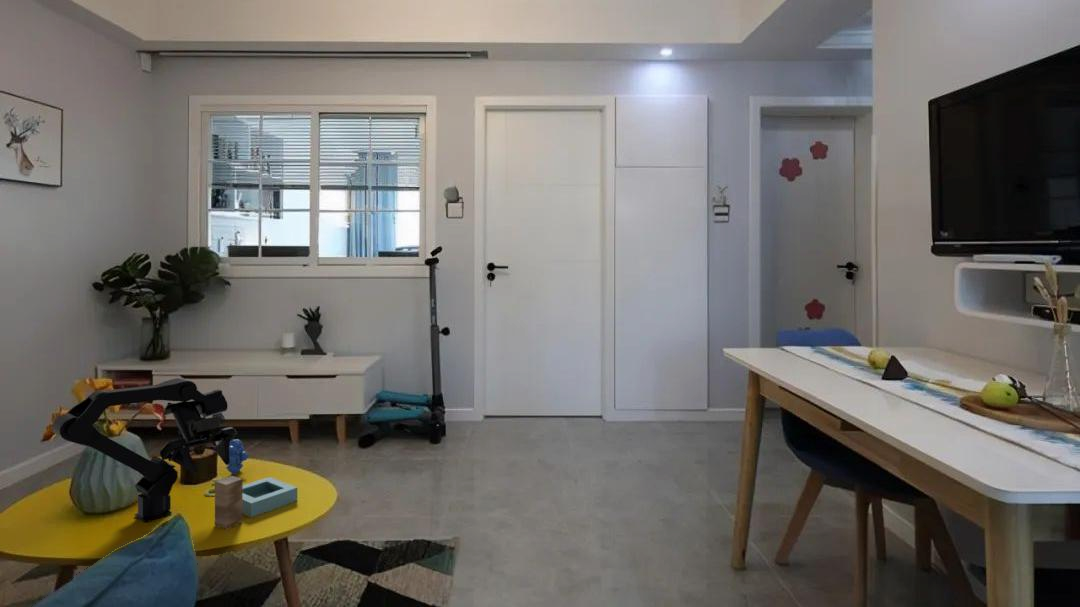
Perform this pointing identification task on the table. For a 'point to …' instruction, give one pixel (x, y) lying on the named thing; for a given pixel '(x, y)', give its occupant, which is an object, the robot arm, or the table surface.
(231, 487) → the walnut block
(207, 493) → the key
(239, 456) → the grapes
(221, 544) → the table surface
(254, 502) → the box
